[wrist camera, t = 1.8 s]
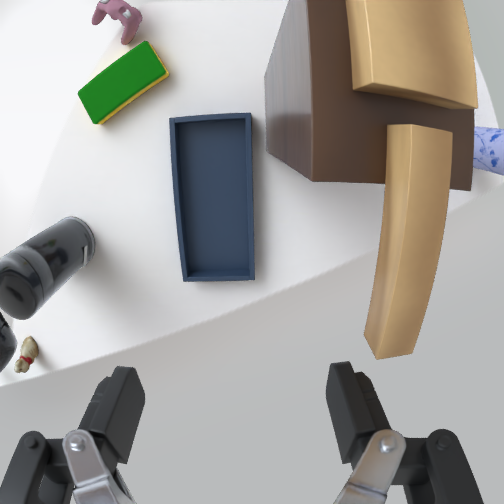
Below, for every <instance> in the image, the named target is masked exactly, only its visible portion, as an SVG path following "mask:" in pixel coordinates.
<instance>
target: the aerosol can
mask: <svg viewBox="0 0 504 504" xmlns="http://www.w3.org/2000/svg"><path fill="white" fill-rule="evenodd" d="M473 167H474V168H478V169H482V170H486V171H490V172H493V173H497V174H500V175H504V129H497V128H486V127H474V159H473Z"/></svg>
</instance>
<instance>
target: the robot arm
mask: <svg viewBox="0 0 504 504" xmlns="http://www.w3.org/2000/svg"><path fill="white" fill-rule="evenodd" d="M94 251H95V241H94V237H93V234H92V232H91V230H90V228H89V227H88V226H87V225H86V224H85V223H84V222H83V221H82V220H80V219H78V218H75V217H67V218H64V219H62V220H61V221H59V222H58V223H56V224H54V225H53V226H51V227H49V228H47V229H46V230H44V231H42V232H41V233H39V234H37V235H36V236H34V237H33V238H31V239H29V240H28V241H26V242H24V243H23V244H22V245H20V246H18V247H17V248H15V249H14V250H12V251H11V252H9V253H8V254H6V255H4V256H3V257H2V258H0V308H1V309H2V310H3V311H4V312H5V313H7V314H8V315H10V316H11V317H13V318H15V319H19V320H26V319H28V318H30V317H32V316H33V315H34V314H35V313H36V312H37V311H38V310H39V309H40V308H41V307H42V306H43V305H44V304H45V303H46V302H47V301H48V300H49V299H50V297H51V296H52V295H53V294H54V293H55V292H56V291H57V290H58V289H59V288H60V287H61V286H63V285H64V284H65V283H66V282H67V281H68V280H69V279H70V278H71V277H72V276H73V275H74V274H75V273H76V272H77V271H78V270H79V269H80V268H81V267H83V266H85V265H87V263H88V262H89V261H90V260H91V258H92V257H93V255H94ZM16 347H17V340H16V337H15V335H14V333H13V331H12V330H11V328H10V326H9V325H8V323H7V322H6V321H5V319H4V318H3V315H2V314H1V312H0V372H1V371H2V370H3V369H4V368H5V367H6V365H7V364H8V363H9V361H10V360H11V358H12V357H13V355H14V353H15V350H16ZM326 400H327V404H328V408H329V412H330V416H331V420H332V423H333V427H334V431H335V435H336V439H337V443H338V447H339V451H340V455H341V460H342V464H345V463H351V466H352V469H353V472H352V474H351V476H350V478H349V479H348V481H347V483H346V484H345V486H344V488H343V489H342V491H341V492H340V494H339V496H338V497H337V499H336V500H335V502H334V503H333V504H385V501H386V499H387V492H388V489H389V487H390V485H403V487H404V491H405V495H406V499H407V503H408V504H484V503H483V500H482V498H481V495H480V492H479V489H478V486H477V484H476V481H475V478H474V476H473V473H472V471H471V468H470V466H469V463H468V461H467V459H466V456H465V454H464V451H463V449H462V447H461V444H460V442H459V440H458V438H457V436H456V435H455V434H454V433H453V432H451V431H449V430H446V429H439V430H436V431H434V432H432V433H431V434H430V435H429V437H428V438H406V437H403V436H402V435H401V434H400V433H399V432H397V431H395V430H392V429H391V427H390V425H389V422H388V420H387V417H386V415H385V413H384V410H383V408H382V405H381V403H380V401H379V399H378V396H377V394H376V391H375V390H374V387H373V384H372V382H371V380H370V379H369V378H368V377H367V376H366V375H365V374H364V373H363V372H357V373H354V370H353V368H352V366H351V363H350V362H349V361H347V362H339V363H331V365H330V369H329V375H328V380H327V386H326ZM144 404H145V393H144V390H143V387H142V385H141V382H140V379H139V377H138V375H137V372H136V369H135V368H133V367H122V366H117V367H116V368H115V370H114V372H113V374H112V376H111V377H106V378H105V379H103V381H101V382H100V383H99V384H98V386H97V388H96V390H95V393H94V395H93V397H92V399H91V402H90V403H89V405H88V407H87V410H86V412H85V414H84V416H83V418H82V420H81V423H80V425H79V427H78V429H77V430H73V431H71V432H69V433H68V434H67V435H66V436H65V437H64V438H62V439H45V437H44V436H43V435H42V434H41V433H40V432H37V431H30V432H27V433H25V434H24V435H23V436H22V437H21V439H20V441H19V443H18V445H17V448H16V450H15V452H14V454H13V457H12V459H11V462H10V464H9V466H8V469H7V472H6V474H5V477H4V480H3V482H2V485H1V487H0V504H70V500H71V496H72V493H73V496H74V499H75V501H76V504H137V503H136V502H135V500H134V498H133V497H132V495H131V493H130V491H129V489H128V488H127V486H126V484H125V482H124V480H123V478H122V476H121V474H120V472H119V470H118V469H117V468H116V466H117V463H123V464H127V462H128V458H129V455H130V451H131V448H132V444H133V441H134V437H135V434H136V430H137V427H138V424H139V420H140V417H141V414H142V410H143V407H144ZM43 475H44V476H43ZM42 478H43V479H42ZM41 481H42V482H41ZM40 484H41V485H40ZM74 485H75V488H74ZM38 491H39V492H38Z"/></svg>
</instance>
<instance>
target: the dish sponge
mask: <svg viewBox="0 0 504 504" xmlns="http://www.w3.org/2000/svg"><path fill="white" fill-rule="evenodd" d="M168 76H169V72H168V71H167V69H166V68H165V66H164V64H163V63H162V61H161V60H160V58H159V56H158V55H157V53H156V52H155V50H154V48H153V47H152V45H151V44H150V43H149V42H148V41H144V42H142V43H141V44H139V45H138V46H136V47H135V48H133V49H132V50H130V51H129V52H128V53H126V54H125V55H123V56H122V57H121V58H119V59H118V60H116V61H115V62H114V63H112V64H111V65H110V66H109V67H107V68H106V69H105V70H103V71H102V72H101V73H100V74H98V75H97V76H96V77H95V78H94V79H92V80H91V81H90V82H89V83H88V84H86V85H85V86H84V87H83V88H82V89H81V90H79V91H78V96H79V98H80V100H81V101H82V103H83V105H84V107H85V109H86V111H87V113H88V115H89V116H90V118H91V120H92V122H93V124H103V123H104V122H105V121H107V120H108V119H109V118H110V117H112V116H113V115H114V114H116V113H117V112H118V111H119V110H121V109H122V108H123V107H125V106H126V105H127V104H129V103H130V102H132V101H133V100H134V99H136V98H137V97H138V96H140V95H141V94H143V93H144V92H146V91H147V90H149V89H150V88H152V87H153V86H154V85H156V84H158V83H159V82H161V81H162V80H164V79H165V78H167V77H168Z"/></svg>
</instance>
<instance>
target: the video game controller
mask: <svg viewBox="0 0 504 504" xmlns="http://www.w3.org/2000/svg"><path fill="white" fill-rule="evenodd" d="M107 13H108V14H109V15H110V16H111V18H112V19H114V20H117V19H119V20H120V21H121V23H122V24H123V26H125V28H124V32H123V35H122V38H121V43H122V44H123V45H126V44H128V43H129V42H130V41H131V40H132V39H133V38H134V36H135V34H136V32H137V30H138V27H139V24H140V22H141V21H142V15H141V13H140V11H139V10H137V9H136V8H134V7H131V6H130V5H129V4H127V3H126V2H124V1H123V0H100V1H99V3H98V4H97V7H96V10H95V12H94V15H93V18H92V24H93V25H97V24H99V23H100V22H101V21H102V20H103V19H104V17H105V16H106V14H107Z"/></svg>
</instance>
